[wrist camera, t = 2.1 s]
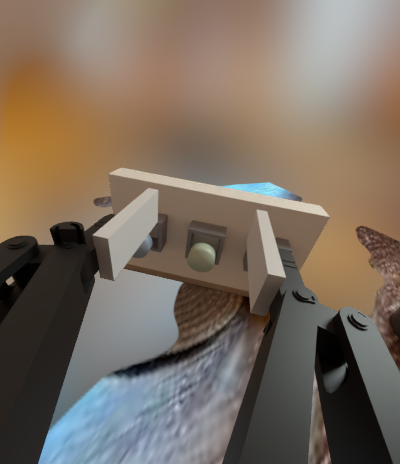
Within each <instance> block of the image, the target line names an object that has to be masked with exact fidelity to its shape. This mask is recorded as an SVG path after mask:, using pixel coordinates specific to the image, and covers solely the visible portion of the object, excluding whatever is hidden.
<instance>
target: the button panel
mask: <svg viewBox="0 0 400 464" xmlns="http://www.w3.org/2000/svg"><path fill="white" fill-rule="evenodd" d="M109 182H110V191H111V200H112V208H113V214H115V215H117V214H118V213H119V212H120V211H122V210H123V209H124V208H125V207H126V206H128V205H129V204H130V203H131V202H132V201H134V200H135V199H136V198H137V197H138V196H140V195H141V194H142V193H143V192H144V191H145V190H147V189H148V188H151V189H156V190H158V222H157V223H156V225H155V226H154V227H153V229H152V230H151V232H150V233H149V235H150V236H151V238H152V241H153V244H152V247H151V248H150V250H149V251H148V253H147V254H146V256H145V257H143V258H134V257H131V259H130V260H129V261H128V263H127V264H126V265H125V267H124V269H128V270H132V271H137V272H142V273H146V274H150V275H155V276H159V277H163V278H167V279H172V280H176V281H180V282H185V283H189V284H194V285H198V286H202V287H207V288H211V289H215V290H220V291H224V292H229V293H233V294H237V295H242V296H246V297H250V296H249V279H248V261H247V244H246V240H247V237H248V234H249V231H250V228H251V225H252V222H253V218H254V215H255V212H256V209H257V210H262V211H267V213H268V216H269V220H270V223H271V227H272V230H273V234H274V237H275V241H276V244H277V248H280V249H285V250H288V251H289V252H290V253H291V254H292V255H293V257H294V259H295V262H296V263H295V264H296V265H297V267H298V268H297V269H298V270H299V271H300V269H301V267H302V266H303V264H304V262H305V260H306V259H307V257H308V255H309V253H310V251H311V250H312V248H313V246H314V244H315V243H316V241H317V239H318V237H319V236H320V234H321V232H322V230H323V229H324V227H325V225H326V223H327V221H328V220H329V218H330V216H329V215H328V214H327V213H326V212H325V211H324V210H323V208H322V207H321V206H318V205H313V204H307V203H302V202H297V201H292V200H287V199H282V198H276V197H271V196H266V195H261V194H256V193H250V192H245V191H240V190H235V189H230V188H224V187H219V186H214V185H209V184H204V183H198V182H193V181H188V180H182V179H178V178H172V177H167V176H162V175H157V174H151V173H146V172H141V171H136V170H131V169H125V168H120V169H118V170H115V171H113V172H112V173H109ZM197 243H206V244H208V245H210V246H211V247H212V248H213V249H214V250H215V253H216V256H215V262H214V267H213V268H212V269H211V270H210V271H208V272H197V271H194V270H193V269H191V268H190V267H189V265H188V263H187V257H188V255H189V252H190V249H191V247H192V246H193V245H195V244H197Z"/></svg>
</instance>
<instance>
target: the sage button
mask: <svg viewBox="0 0 400 464" xmlns="http://www.w3.org/2000/svg"><path fill="white" fill-rule="evenodd" d="M215 256H216V253H215V250H214V249H213V248H212V247H211V246H210V245H208V244H206V243H197V244H195V245H193V246H192V247H191V249H190V252H189V255H188V257H187V263H188V265H189V267H190V268H191V269H193V270H194V271H197V272H208V271H210V270H211V269H212V268H213V267H214V262H215Z"/></svg>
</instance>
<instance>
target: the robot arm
mask: <svg viewBox="0 0 400 464" xmlns="http://www.w3.org/2000/svg"><path fill="white" fill-rule="evenodd" d="M157 222H158V190H156V189H151V188H148V189H147V190H145V191H144V192H143V193H142V194H141V195H140V196H138V197H137V198H136V199H135V200H134V201H132V202H131V203H130V204H129V205H128V206H126V207H125V208H124V209H123V210H122V211H120V212H119V213H118V214H117V215H115V214H110V215H107V216H105V217H103V218H102V219H100V220H99V221H98V222H97V223H95V224H94V226H91V227H90V228H89V229H87V230H86V231H84V227H83V225H82V224H81V223H78V222H63V223H59V224H56V225H54V226H53V227H51V228H50V232H51V235H52V238H53V241H54V245H38V242H37V240H36V239H35V238H34V237H32V236H17V237H14V238H10V239H8V240H6V241H4V242H2V243H1V244H0V464H38V462H39V459H40V455H41V452H42V449H43V446H44V443H45V439H46V436H47V433H48V430H49V426H50V423H51V420H52V417H53V414H54V411H55V407H56V404H57V401H58V398H59V395H60V391H61V388H62V385H63V382H64V379H65V375H66V372H67V369H68V366H69V363H70V359H71V356H72V353H73V350H74V347H75V343H76V340H77V337H78V334H79V331H80V327H81V324H82V321H83V318H84V314H85V311H86V308H87V305H88V302H89V299H90V295H91V292H92V289H93V286H94V283H95V278H94V275H95V274H96V273H97V271H98V270H99V273H100V278H104V279H108V280H112V281H114V280H115V279H116V278H117V276H118V275H119V273H120V272H121V271H122V269H123V268H124V267H125V265H126V264H127V263H128V261H129V260H130V259H131V257H132V256H133V255H134V253H135V252H136V250H137V249H138V248H139V246H140V245H141V244H142V242H143V241H144V240H145V238H146V237H147V236H148V234H149V233H150V232H151V230H152V229H153V227H154V226H155V225H156V223H157ZM246 244H247V261H248V279H249V296H250V313H253V314H257V315H262V316H266V315H267V313H268V311H269V310H270V316H271V318H270V320H269V322H268V323H267V325H266V327H265V329H264V331H263V332H264V336H263V339H262V342H261V345H260V348H259V351H258V354H257V358H256V361H255V364H254V367H253V370H252V373H251V376H250V379H249V382H248V385H247V388H246V392H245V395H244V398H243V401H242V404H241V407H240V410H239V413H238V416H237V419H236V422H235V426H234V429H233V432H232V435H231V438H230V441H229V444H228V447H227V450H226V453H225V456H224V460H223V463H222V464H308V452H309V438H310V424H311V409H312V395H313V380H314V369H315V374H316V380H317V385H318V391H319V396H320V402H321V408H322V413H323V419H324V424H325V430H326V435H327V441H328V446H329V452H330V458H331V463H332V464H400V372H399V370H398V368H397V366H396V364H395V362H394V360H393V358H392V356H391V354H390V352H389V350H388V348H387V346H386V344H385V342H384V340H383V338H382V336H381V334H380V332H379V331H378V329H377V327H376V325H375V324H374V323H373V321H372V320H371V319H370V318H369V317H368V316H366V315H365V314H364V313H362V312H360V311H359V310H356V309H354V308H350V307H343V308H341V309H340V311H339V312H337V311H335V310H332V309H331V308H328V307H326V306H324V305H322V304H320V303H319V302H318V299H317V297H316V295H315V294H314V293H313V292H312V291H311V290H309V289H308V288H306V287H305V286H304V284H303V281H302V278H301V275H300V273H299V270H298V269H297V268H298V267H297V265H296V264H295V263H296V262H295V259H294V257H293V255H292V254H291V253H290V252H289V251H288V250H285V249H280V248H277V244H276V241H275V237H274V234H273V230H272V227H271V223H270V220H269V216H268V213H267V211H262V210H257V209H256V212H255V215H254V218H253V222H252V225H251V228H250V231H249V234H248V237H247V240H246ZM11 276H12V277H13V279H14V282H13V283H12V284H10V285H7V283H6V280H7V279H8V278H10V277H11ZM391 323H392V326H393V329H394V331H395V332H396V334H397V336H398V337H399V338H400V308H399V309H398V310H396V311H395V312H394V313H393V314H392V316H391Z"/></svg>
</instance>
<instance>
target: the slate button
mask: <svg viewBox="0 0 400 464" xmlns="http://www.w3.org/2000/svg"><path fill="white" fill-rule="evenodd" d="M152 244H153V241H152V238H151V236H150V235H149V234H148V236H147V237H146V238H145V240H144V241H143V242H142V244H141V245H140V246H139V248H138V249H137V250H136V252H135V253H134V255H133V256H132V257H134V258H143V257H145V256H146V254H147V253H148V251H149V250H150V248H151V247H152Z"/></svg>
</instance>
